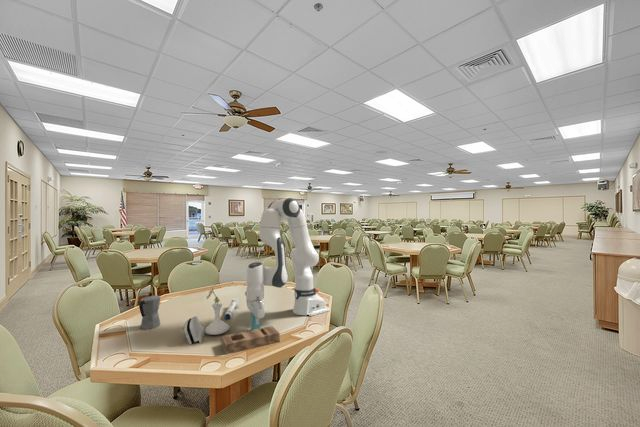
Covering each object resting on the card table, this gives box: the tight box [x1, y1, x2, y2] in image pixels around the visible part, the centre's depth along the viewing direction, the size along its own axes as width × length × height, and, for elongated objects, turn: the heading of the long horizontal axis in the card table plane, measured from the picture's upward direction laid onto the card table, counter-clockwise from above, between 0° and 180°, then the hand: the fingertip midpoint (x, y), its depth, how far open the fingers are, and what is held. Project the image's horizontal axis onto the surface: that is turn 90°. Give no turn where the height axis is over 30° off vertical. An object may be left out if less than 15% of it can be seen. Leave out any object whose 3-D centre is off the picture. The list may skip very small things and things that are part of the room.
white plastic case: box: [183, 316, 206, 345], centre depth 135 cm, size 17×5×10 cm, turn 16°
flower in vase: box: [204, 284, 230, 336], centre depth 139 cm, size 13×11×25 cm
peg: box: [250, 311, 261, 330], centre depth 142 cm, size 4×4×10 cm
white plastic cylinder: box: [223, 297, 240, 321], centre depth 169 cm, size 5×7×25 cm
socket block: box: [221, 325, 281, 355], centre depth 127 cm, size 24×10×4 cm, turn 119°
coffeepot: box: [138, 292, 161, 330], centre depth 147 cm, size 15×9×18 cm, turn 179°
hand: (255, 322), depth 142 cm, fingers open, 4 cm apart
